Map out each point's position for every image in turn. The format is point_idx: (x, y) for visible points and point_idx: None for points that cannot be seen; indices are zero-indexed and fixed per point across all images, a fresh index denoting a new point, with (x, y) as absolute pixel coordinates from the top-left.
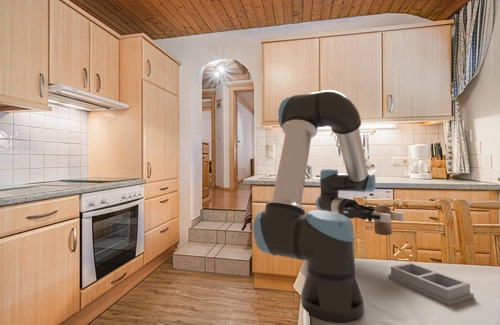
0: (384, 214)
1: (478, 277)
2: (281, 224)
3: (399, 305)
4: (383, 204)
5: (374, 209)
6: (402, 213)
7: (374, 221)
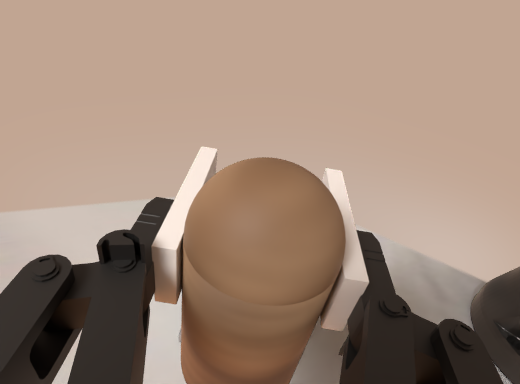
0: (345, 193)
1: (68, 227)
2: None
3: None
4: (289, 163)
5: (335, 269)
6: (213, 150)
7: (301, 349)
